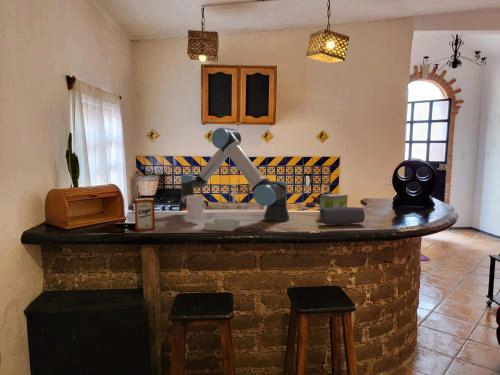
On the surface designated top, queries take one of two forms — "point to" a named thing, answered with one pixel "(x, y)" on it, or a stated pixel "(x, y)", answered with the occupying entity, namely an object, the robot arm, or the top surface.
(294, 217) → the top surface
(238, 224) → the tray
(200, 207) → the candle holder
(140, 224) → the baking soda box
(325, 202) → the tea box
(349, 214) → the bluetooth speaker
